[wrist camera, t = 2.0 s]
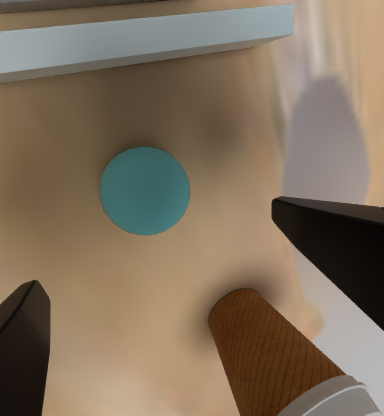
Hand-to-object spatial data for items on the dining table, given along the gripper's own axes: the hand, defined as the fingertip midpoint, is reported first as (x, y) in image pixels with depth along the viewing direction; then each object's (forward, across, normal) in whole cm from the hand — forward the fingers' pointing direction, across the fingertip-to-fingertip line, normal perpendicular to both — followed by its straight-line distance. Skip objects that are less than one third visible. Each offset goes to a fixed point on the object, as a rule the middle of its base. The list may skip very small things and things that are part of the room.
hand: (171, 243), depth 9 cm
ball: (+6, 0, 0) cm, 6 cm away
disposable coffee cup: (+8, -6, +17) cm, 20 cm away
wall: (+8, 0, -7) cm, 11 cm away
